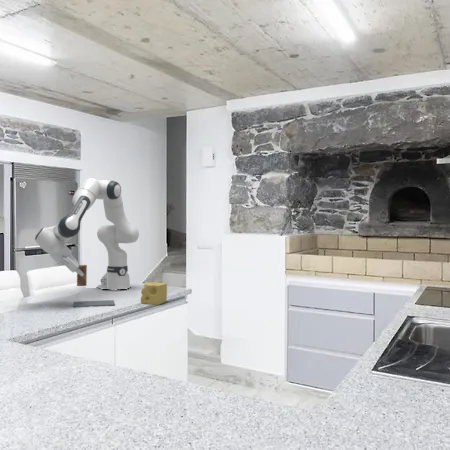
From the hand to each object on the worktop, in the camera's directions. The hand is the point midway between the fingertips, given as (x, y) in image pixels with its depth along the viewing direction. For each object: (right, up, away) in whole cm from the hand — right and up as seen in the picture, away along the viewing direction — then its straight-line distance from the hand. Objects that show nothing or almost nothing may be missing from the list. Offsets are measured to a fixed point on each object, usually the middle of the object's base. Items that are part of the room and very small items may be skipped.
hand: (83, 274), depth 231 cm
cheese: (+34, -16, +9) cm, 39 cm away
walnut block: (-1, -5, 0) cm, 5 cm away
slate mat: (+5, -15, +2) cm, 16 cm away
